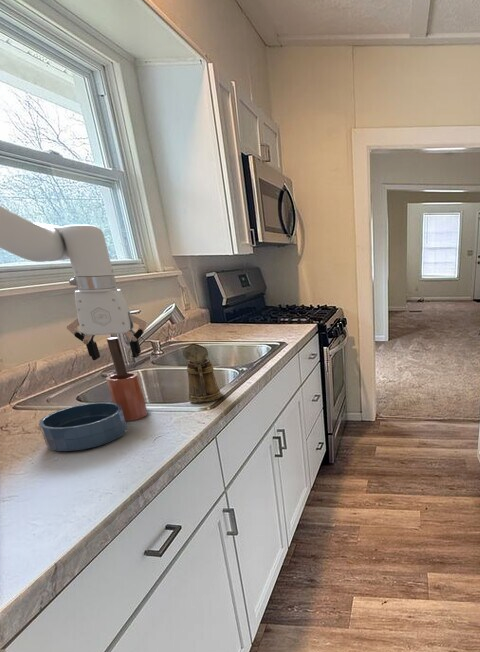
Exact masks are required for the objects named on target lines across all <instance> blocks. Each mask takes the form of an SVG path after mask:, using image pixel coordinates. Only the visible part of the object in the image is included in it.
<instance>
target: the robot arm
mask: <svg viewBox="0 0 480 652" xmlns="http://www.w3.org/2000/svg"><path fill="white" fill-rule="evenodd" d="M0 249H2V250H4V251H6V252H8V253H11V254H13V255H15V256H17V257H20V258H22V259H24V260H27V261H30V262H31V261H32V262H37V263H41V262H58V261H63V260H69V261H70V265H71V268H72V269H71V270H72V273H73V275H74V276H73V278H70V279H68V283H69V285H70V286H74V287H76V289H78V290H74V303H75V310H76V314H77V318H76V319H75V320H73V321H72V322H71V323H69V324H68V325H67V326H66V330H68V331H69V332H70V333H71V334H72V335H74V338H76V339H78V340H79V341H80V342H82V343H83V344H84V345H86V349H87V352H88V355H89V357H91V359H92V361H97V360H98V359H100V358H101V355H100V350H99V347H98V344H97V342H96V340H94V339H95V337H96V336H104V335H105V336H106V335H123V334H124V335H125V336H126V337H127V338H128V339H130V341H129V346H130V350H131V355H132V357H133V358H138V357H139V356H140V354H141V353H142V350H141V345H140V342H139V339H140V338H141V337H142V335H144V333H145V331H146V330H147V327H148V324H149V323H148V321H146V320H143V319H142V318H139V317H137V316H135V315H133V314H132V313H131V311H130V308H129V305H128V302H127V300H126V298H125V295H124V293H123V292H122V290H121V288H118V285H117V281H116V278H115V274H114V270H113V265H112V262H111V258H110V254H109V249H108V246H107V242H106V238H105V234H104V232H103V230H102V228H100V227H99V226H97V225H92V224H67V225H64V226H62V225H61V226H60V225H54V224H47V223H42V222H35V221H30V220H28V219H26V218H23V217H22V216H20V215H19V214H16V213H14V212H12V211H11V210H9V209H7V208H5V207H3V206H1V205H0ZM134 324H135V325H138V329H137V330H136V331H135V330H134ZM79 328H80V330H79Z"/></svg>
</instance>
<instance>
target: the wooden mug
mask: <svg viewBox="0 0 480 652" xmlns="http://www.w3.org/2000/svg"><path fill="white" fill-rule="evenodd" d="M182 355H183V357H184V358H185V360H187V365H186V373H187V379H188V380H187V381H188V394H187V396H188V398H187V399H188V401H189V402H190V403H195V404H205V403H210V402H214V401H217V400H219V399H220V398H221V397H222V393H221V390H220V388H219V386H218V383H217V380H216V377H215V373H214V371H215V369H214V366H213V364H212V363H211V360H210V359H209V358H208V357H209V351H208V349H207V348H206V347H205V346H203V345H200V344H197V343H191V344H189V345H187V346H186V347H185V348H184V349H183V350H182Z"/></svg>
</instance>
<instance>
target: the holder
mask: <svg viewBox="0 0 480 652" xmlns="http://www.w3.org/2000/svg"><path fill="white" fill-rule="evenodd" d="M127 373H128V377H129V378H124V379H117V375H116V373H114V374H110V375H108V376H106V378H105V379H106V383H107V387H108V391H109V394H110V398H111V402H112V403H116V404H118V405H120V406H121V407H122V410H123V414H124V417H125V421H126V422H132V421H136V420H140V419H143V418H145V417H147V415H148V408H147V405H146V402H145V397H144V394H143V389H142V386H141V382H140V381H141V380H140V377H139V374H138V373H137V372H134V371H127Z"/></svg>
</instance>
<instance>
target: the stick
mask: <svg viewBox="0 0 480 652" xmlns="http://www.w3.org/2000/svg"><path fill="white" fill-rule="evenodd" d="M106 342H107V346H108V349H109V353H110V357H111V361H112V364H113V367H114V368H113V369H114V371H115V374H116V375H117V379H124V378H129V377H128V373H127V372H128V370H127V366H126V362H125V358H124V354H123V350H122V347H121V343H120V340H119V337H117V336H115V337H107V338H106Z"/></svg>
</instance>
